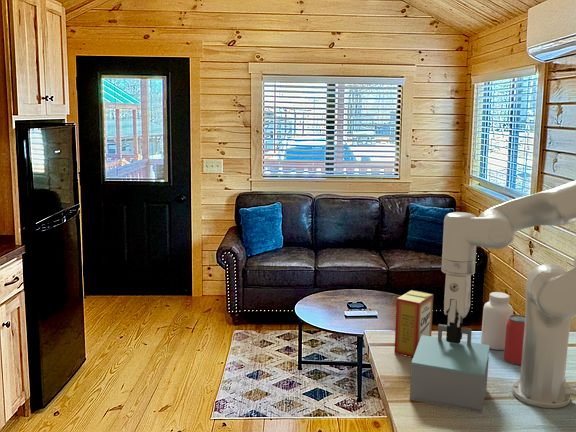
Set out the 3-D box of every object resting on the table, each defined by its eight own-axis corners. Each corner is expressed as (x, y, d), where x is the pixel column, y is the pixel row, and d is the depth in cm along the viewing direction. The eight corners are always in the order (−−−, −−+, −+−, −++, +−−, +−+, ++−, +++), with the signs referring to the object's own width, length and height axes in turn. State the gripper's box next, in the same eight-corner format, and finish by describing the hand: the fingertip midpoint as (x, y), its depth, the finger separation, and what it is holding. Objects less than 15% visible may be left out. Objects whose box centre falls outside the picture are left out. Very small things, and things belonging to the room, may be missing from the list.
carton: (486, 390, 145) (488, 356, 144) (481, 413, 134) (484, 377, 133) (419, 378, 151) (421, 345, 150) (409, 399, 140) (411, 364, 139)
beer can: (504, 364, 160) (508, 321, 158) (502, 354, 166) (505, 312, 164) (531, 367, 158) (535, 323, 156) (528, 357, 165) (531, 315, 162)
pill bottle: (512, 351, 168) (516, 300, 165) (482, 349, 170) (485, 298, 167) (508, 341, 176) (512, 291, 173) (479, 338, 177) (482, 289, 174)
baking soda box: (416, 358, 163) (419, 301, 160) (394, 352, 167) (396, 297, 164) (430, 347, 171) (433, 293, 168) (409, 342, 174) (411, 288, 171)
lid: (489, 347, 144) (490, 329, 142) (484, 376, 133) (485, 357, 131) (421, 337, 150) (421, 319, 148) (411, 364, 139) (411, 346, 137)
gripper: (470, 276, 133) (465, 355, 136) (479, 259, 147) (474, 331, 150) (435, 272, 135) (431, 349, 139) (447, 256, 150) (443, 327, 153)
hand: (454, 339), depth 144 cm, fingers closed
